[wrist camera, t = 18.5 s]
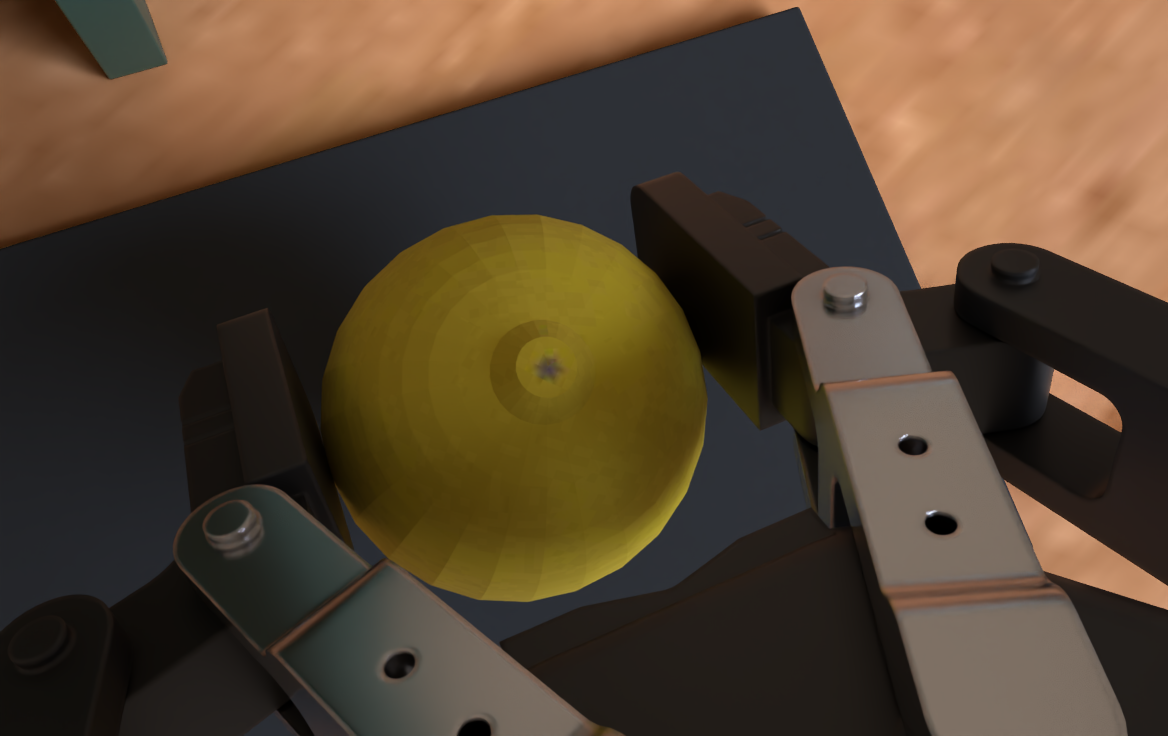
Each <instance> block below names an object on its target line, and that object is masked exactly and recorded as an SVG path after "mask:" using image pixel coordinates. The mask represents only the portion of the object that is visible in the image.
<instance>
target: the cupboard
mask: <svg viewBox="0 0 1168 736" xmlns="http://www.w3.org/2000/svg"><path fill="white" fill-rule="evenodd" d="M55 2H56V3H57V5H58V6H59V7H60V9H61V10H62V12H63V13H64V15H65V16H66V18H67V19H68V20H69V22H70V23H71V25H72V26H73V28H74V29H75V31H76V32H77V33H78V35H79V36H80V38H81V39H82V41H83V42H84V44H85V45H86V46H87V48H88V49H89V51H90V52H91V54H92V55H93V56H94V58H95V59H96V61H97V62H98V64H99V65H100V67H101V68H102V69H103V71H104V72H105V74H106V75H107V77H108V78H109V79H114V78H118V77H122V76H125V75H129V74H132V73H136V72H140V71H143V70H147V69H151V68H154V67H158V66H162V65H165V64H167V59H166V56H165V53H164V50H163V48H162V45H161V42H160V39H159V37H158V34H157V31H156V29H155V26H154V23H153V20H152V18H151V15H150V12H149V9H148V7H147V4H146V1H145V0H55Z"/></svg>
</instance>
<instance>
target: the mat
mask: <svg viewBox="0 0 1168 736" xmlns="http://www.w3.org/2000/svg"><path fill="white" fill-rule="evenodd" d="M674 172H681V173H682V174H684V175H685V176H686V177H687V178H688V179H689V180H691V181H692V182H693V183H694V184H695V185H696V186H698V187H699V188H700V189H701V190H702V191H703V192H705V193H706V194H707V195H709V194H712V193H715V192H717V191H720V192H723V193H726V194H729V195H732V196H735V197H738V198H741V199H744V200H747V201H749V202H750V203H751V204H752V205H754V206H755V207H756V208H757V209H759V210H760V211H761V212H762V213H764V214H765V215H766V216H767V219H768V220H769V219H771V220H772V221H773V222H775V223H776V224H777V225H778V226H780V227H781V228H782V231H783V232H787V233H788V234H789V235H791V236H792V237H793V238H794V239H796V240H797V241H798V242H799V243H801V244H802V245H803V246H804V247H806V248H807V249H808V250H809V251H811V252H812V253H813V254H814V255H815V256H817V257H818V258H819V259H820V260H822V261H823V262H824V263H825V264H827V265H828V266H829V267H830V268H832V267H843V266H846V267H859V268H865V269H869V270H873V271H875V272H878V273H880V274H882V275H884V276H886V277H887V278H889V279H890V280H891V281H892V282H893V283H894V284H895V285H896V286H897V288H898V290H899V291H908V290H916V289H921V287H920V285H919V283H918V280H917V278H916V276H915V274H914V271H913V269H912V267H911V264H910V262H909V260H908V257H907V255H906V253H905V250H904V248H903V246H902V244H901V241H900V239H899V237H898V234H897V232H896V230H895V227H894V225H893V223H892V220H891V218H890V216H889V214H888V211H887V209H886V207H885V204H884V202H883V200H882V197H881V195H880V193H879V191H878V188H877V186H876V184H875V181H874V179H873V177H872V174H871V172H870V170H869V167H868V165H867V163H866V161H865V158H864V156H863V154H862V151H861V149H860V147H859V144H858V142H857V140H856V137H855V135H854V133H853V131H852V128H851V126H850V124H849V121H848V119H847V117H846V114H845V112H844V110H843V108H842V105H841V103H840V101H839V98H838V96H837V94H836V91H835V89H834V87H833V84H832V82H831V80H830V78H829V75H828V73H827V71H826V68H825V66H824V64H823V61H822V59H821V57H820V54H819V52H818V50H817V48H816V45H815V43H814V41H813V38H812V36H811V34H810V31H809V29H808V27H807V25H806V22H805V20H804V18H803V15H802V13H801V11H800V9H799V8H798V7H795V8H791V9H788V10H785V11H781V12H778V13H775V14H772V15H768V16H765V17H762V18H758V19H755V20H752V21H749V22H745V23H742V24H739V25H735V26H732V27H729V28H726V29H722V30H719V31H716V32H712V33H709V34H706V35H702V36H699V37H696V38H693V39H689V40H686V41H683V42H679V43H676V44H673V45H670V46H666V47H663V48H660V49H656V50H653V51H650V52H647V53H643V54H640V55H637V56H633V57H630V58H627V59H624V60H620V61H617V62H614V63H610V64H607V65H604V66H601V67H597V68H594V69H591V70H587V71H584V72H581V73H577V74H574V75H571V76H568V77H564V78H561V79H558V80H554V81H551V82H548V83H545V84H541V85H538V86H535V87H531V88H528V89H525V90H522V91H518V92H515V93H512V94H508V95H505V96H502V97H499V98H495V99H492V100H489V101H485V102H482V103H479V104H475V105H472V106H469V107H466V108H462V109H459V110H456V111H452V112H449V113H446V114H443V115H439V116H436V117H433V118H429V119H426V120H423V121H420V122H416V123H413V124H410V125H406V126H403V127H400V128H397V129H393V130H390V131H387V132H383V133H380V134H377V135H374V136H370V137H367V138H364V139H360V140H357V141H354V142H350V143H347V144H344V145H341V146H337V147H334V148H331V149H327V150H324V151H321V152H318V153H314V154H311V155H308V156H304V157H301V158H298V159H295V160H291V161H288V162H285V163H281V164H278V165H275V166H272V167H268V168H265V169H262V170H258V171H255V172H252V173H249V174H245V175H242V176H239V177H235V178H232V179H229V180H225V181H222V182H219V183H216V184H212V185H209V186H206V187H202V188H199V189H196V190H193V191H189V192H186V193H183V194H179V195H176V196H173V197H170V198H166V199H163V200H160V201H156V202H153V203H150V204H147V205H143V206H140V207H137V208H133V209H130V210H127V211H123V212H120V213H117V214H114V215H110V216H107V217H104V218H100V219H97V220H94V221H91V222H87V223H84V224H81V225H77V226H74V227H71V228H68V229H64V230H61V231H58V232H54V233H51V234H48V235H45V236H41V237H38V238H35V239H31V240H28V241H25V242H22V243H18V244H15V245H12V246H8V247H5V248H2V249H0V632H1V631H2V630H3V629H4V628H5V627H6V626H7V625H8V624H9V623H11V622H12V621H13V620H14V619H16V618H17V617H19V616H20V615H21V614H23V613H24V612H26V611H28V610H30V609H31V608H33V607H35V606H37V605H39V604H41V603H44V602H46V601H48V600H51V599H55V598H58V597H62V596H67V595H77V594H82V595H90V596H93V597H96V598H98V599H100V600H101V601H103V602H104V603H105V604H106V605H107V606H108V607H109V608H110V607H111V606H113V605H114V604H116V603H118V602H119V601H121V600H122V599H124V598H125V597H127V596H128V595H130V594H131V593H133V592H134V591H136V590H138V589H139V588H141V587H142V586H144V585H145V584H147V583H148V582H149V581H151V580H152V579H154V578H155V577H156V576H157V575H159V574H160V573H161V572H162V571H163V570H164V569H166V567H167V566H168V565H169V564H170V563H171V562H172V561H173V560H174V556H173V543H174V538H175V536H176V534H177V531H178V530H179V528H180V526H181V525H182V523H183V522H184V521H185V520H186V518H187V517H188V516H189V515H190V514H191V509H190V500H189V491H188V482H187V472H186V463H185V454H184V446H185V445H184V442H183V435H182V426H183V425H182V423H181V417H180V408H179V399H178V397H179V395H180V393H181V391H182V389H183V387H184V385H185V383H186V381H187V379H188V377H189V375H190V373H191V371H193V370H196V369H199V368H202V367H204V366H207V365H210V364H213V363H216V362H219V361H222V355H221V349H220V344H219V338H218V333H217V325H218V324H221V323H223V322H226V321H229V320H232V319H235V318H238V317H241V316H244V315H247V314H250V313H253V312H256V311H259V310H262V309H265V308H268V309H269V310H270V312H271V314H272V316H273V318H274V320H275V323H276V325H277V327H278V330H279V332H280V334H281V337H282V339H283V341H284V344H285V346H286V348H287V351H288V353H289V355H290V358H291V360H292V362H293V365H294V367H295V369H296V372H297V374H298V376H299V379H300V381H301V383H302V386H303V388H304V390H305V393H306V395H307V398H308V400H309V403H310V405H311V408H312V411H313V413H314V416H315V419H316V422H317V425H318V428H319V431H320V429H321V399H322V379H323V376H324V372H325V369H326V366H327V363H328V359H329V356H330V353H331V349H332V346H333V343H334V340H335V336H336V333H337V331H338V329H339V327H340V326H341V324H342V322H343V321H344V319H345V318H346V316H347V314H348V313H349V311H350V309H351V308H352V306H353V304H354V303H355V301H356V300H357V298H358V296H359V295H360V293H361V291H362V290H363V288H364V287H365V286H366V285H367V284H368V283H369V282H370V281H371V280H372V279H373V278H374V277H375V276H376V275H377V274H378V273H379V272H380V271H382V270H383V269H384V268H385V267H386V266H387V265H388V264H389V263H390V262H391V261H392V260H393V259H394V258H395V257H396V256H397V255H398V254H399V253H401V252H402V251H404V250H406V249H407V248H409V247H411V246H413V245H415V244H416V243H418V242H420V241H422V240H424V239H425V238H427V237H429V236H431V235H433V234H434V233H436V232H438V231H440V230H442V229H443V228H447V227H450V226H454V225H458V224H461V223H465V222H469V221H472V220H476V219H480V218H484V217H487V216H492V215H541V216H546V217H550V218H555V219H559V220H563V221H568V222H572V223H576V224H581V225H583V226H585V227H587V228H589V229H591V230H593V231H595V232H597V233H599V234H601V235H603V236H605V237H607V238H609V239H611V240H613V241H615V242H617V243H619V244H621V245H623V246H624V247H625V248H626V249H628V250H629V251H630V252H631V253H632V254H634V255H635V256H636V257H637V258H638V256H637V248H636V241H635V233H634V225H633V218H632V210H631V202H630V194H631V189H632V187H633V186H635V185H638V184H641V183H644V182H647V181H650V180H653V179H656V178H659V177H662V176H665V175H668V174H671V173H674ZM702 366H703V365H702ZM703 372H704V378H705V384H706V391H707V399H708V400H707V411H706V421H705V432H704V443H703V447H702V450H701V453H700V456H699V459H698V462H697V464H696V467H695V470H694V473H693V476H692V479H691V482H690V484H689V487H688V490H687V493H686V494H685V496H684V497H683V499H682V500H681V502H680V503H679V505H678V506H677V508H676V509H675V511H674V513H673V514H672V516H671V517H670V519H669V520H668V522H667V523H666V525H665V526H664V528H663V529H662V531H661V532H660V533H659V535H658V536H657V537H656V538H654V539H653V540H652V541H651V542H650V543H649V544H648V545H647V546H645V547H644V548H643V549H642V550H641V551H640V552H639V553H638V554H636V555H635V556H634V557H633V558H632V559H631V560H630V561H629V562H627V563H626V564H625V565H624V566H623V567H622V568H620V569H618V570H616V571H614V572H612V573H610V574H608V575H606V576H604V577H602V578H600V579H599V580H597V581H595V582H593V583H591V584H589V585H587V586H585V587H583V588H581V589H579V590H577V591H574V592H570V593H566V594H561V595H557V596H552V597H548V598H543V599H539V600H534V601H530V602H516V601H493V600H477V599H474V598H470V597H467V596H464V595H461V594H458V593H454V592H451V591H448V590H445V589H442V588H438V587H435V586H432V585H430V584H428V583H426V582H425V581H423V580H421V579H420V578H418V577H417V576H415V575H413V574H412V573H410V572H409V571H407V570H406V571H407V572H408V573H409V574H410V575H412V576H413V577H414V578H415V579H417V580H418V581H419V582H420V583H421V584H423V585H424V586H425V587H426V588H428V589H429V590H430V591H431V592H432V593H434V594H435V595H436V596H437V597H439V598H440V599H441V600H442V601H444V602H445V603H446V604H447V605H448V606H450V607H451V608H452V609H453V610H455V611H456V612H457V613H458V614H459V615H461V616H462V617H463V618H464V619H466V620H467V621H468V622H469V623H470V624H472V625H473V626H474V627H475V628H477V629H478V630H479V631H480V632H481V633H483V634H484V635H485V636H486V637H488V638H489V639H490V640H491V641H492V642H494V643H495V644H496V645H497V646H499V647H500V648H501V646H500V643H499V642H500V641H502V640H504V639H507V638H509V637H511V636H514V635H516V634H518V633H521V632H523V631H525V630H528V629H530V628H532V627H534V626H537V625H539V624H541V623H544V622H546V621H548V620H551V619H553V618H555V617H558V616H560V615H562V614H565V613H567V612H569V611H572V610H574V609H576V608H579V607H582V606H587V605H592V604H597V603H602V602H607V601H612V600H617V599H622V598H627V597H632V596H637V595H642V594H647V593H652V592H657V591H662V590H666V589H669V588H671V587H674V586H675V585H677V584H678V583H680V582H681V581H683V580H684V579H685V578H687V577H688V576H689V575H691V574H692V573H693V572H695V571H696V570H697V569H699V568H700V567H701V566H703V565H704V564H705V563H707V562H708V561H709V560H711V559H712V558H713V557H715V556H716V555H717V554H719V553H720V552H721V551H723V550H724V549H725V548H727V547H728V546H729V545H731V544H732V543H733V542H735V541H736V540H737V539H739V538H741V537H743V536H746V535H748V534H750V533H752V532H755V531H757V530H759V529H762V528H764V527H766V526H769V525H771V524H773V523H776V522H778V521H780V520H783V519H785V518H787V517H790V516H792V515H794V514H797V513H799V512H801V511H803V510H806V509H807V508H806V504H805V499H804V495H803V490H802V486H801V481H800V476H799V472H798V467H797V463H796V458H795V454H794V446H793V427H792V426H791V425H790V424H789V422H788V421H787V420H786V421H783V422H781V423H778V424H776V425H773V426H771V427H768V428H766V429H764V430H761V431H760V430H759V429H758V428H757V427H756V426H755V424H754V423H753V422H752V421H751V420H750V419H749V418H748V416H747V415H746V414H745V413H744V412H743V411H742V410H741V408H740V407H739V406H738V405H737V404H736V403H735V402H734V400H733V399H732V398H731V397H730V396H729V395H728V394H727V392H726V391H725V390H724V389H723V388H722V387H721V386H720V384H719V383H718V382H717V381H716V380H715V379H714V378H713V376H712V375H711V374H710V373H709V372H708V371H707V370H706V368H705V367H704V366H703ZM320 434H321V431H320ZM321 437H322V435H321ZM322 441H323V439H322ZM323 444H324V443H323ZM1002 480H1003V483H1004V485H1005V487H1006V489H1007V492H1008V494H1009V496H1010V498H1011V501H1012V503H1013V505H1014V507H1015V509H1016V506H1015V504H1014V502H1013V499H1012V497H1011V495H1010V493H1009V490H1008V488H1007V486H1006V483H1005V481H1004V479H1003V478H1002ZM336 489H337V487H336ZM337 492H338V496H339V499H340V503H341V506H342V509H343V513H344V516H345V520H346V523H347V527H348V530H349V533H350V537H351V540H352V544H353V547H354V551H355V552H356V553H357V554H358V555H359V556H360V557H362V558H363V559H364V560H365V561H366V562H368V563H369V564H370V565H372V566H373V565H375V564H376V563H377V562H378V561H380V560H381V559H383V558H387V557H386V556H385V555H384V553H383V552H382V551H381V550H380V549H379V548H378V547H377V546H376V545H375V544H374V543H373V542H372V541H371V540H370V538H369V537H368V536H367V535H366V534H365V533H364V532H363V531H362V530H361V529H360V528H359V527H358V526H357V524H356V523H355V521H354V520H353V518H352V516H351V514H350V512H349V510H348V508H347V506H346V504H345V503H344V501H343V499H342V497H341V495H340V493H339V491H338V489H337ZM1016 512H1017V514H1018V516H1019V513H1018V511H1017V509H1016ZM1019 518H1020V516H1019ZM1020 521H1021V523H1022V520H1021V518H1020ZM1022 525H1023V523H1022ZM1023 527H1024V525H1023ZM1024 530H1025V532H1026V529H1025V527H1024ZM1026 534H1027V532H1026ZM1027 536H1028V534H1027ZM1028 539H1029V536H1028ZM1029 541H1030V539H1029ZM1030 543H1031V541H1030ZM1031 545H1032V543H1031ZM1032 548H1033V546H1032ZM387 559H388V558H387ZM403 569H404V568H403ZM404 570H405V569H404ZM243 736H293V735H292V734H291V733H290V731H289V730H288V729H287V728H286V727H285V726H284V725H283V724H282V722H281V721H280V720H279V719H278V718H277V717H276V716H275V715H274V713H272V714H271V715H269V716H268V717H267V718H265V719H264V720H263V721H261V722H260V723H259V724H258V725H256V726H255V727H254V728H252V729H251V730H250V731H248V732H247V733H246V734H244V735H243Z"/></svg>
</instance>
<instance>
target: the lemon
mask: <svg viewBox="0 0 1168 736" xmlns="http://www.w3.org/2000/svg"><path fill="white" fill-rule="evenodd" d="M707 400H708V399H707V391H706V384H705V378H704V372H703V366H702V359H701V353H700V350H699V347H698V345H697V342H696V340H695V338H694V335H693V333H692V330H691V328H690V326H689V323H688V321H687V318H686V316H685V314H684V311H683V309H682V308H681V307H680V305H679V304H678V302H677V301H676V300H675V298H674V297H673V296H672V294H671V293H670V292H669V290H668V289H667V287H666V286H665V285H664V283H663V282H662V281H661V279H660V278H659V276H658V275H657V274H656V273H655V272H654V271H653V270H652V269H650V268H649V267H648V266H647V265H646V264H644V263H643V262H642V261H641V260H640V259H638V258H637V257H636V256H635V255H634V254H632V253H631V252H630V251H629V250H628V249H626V248H625V247H624V246H623V245H621V244H619V243H617V242H615V241H613V240H611V239H609V238H607V237H605V236H603V235H601V234H599V233H597V232H595V231H593V230H591V229H589V228H587V227H585V226H583V225H581V224H576V223H572V222H568V221H563V220H559V219H555V218H550V217H546V216H541V215H492V216H487V217H484V218H480V219H476V220H472V221H469V222H465V223H461V224H458V225H454V226H450V227H447V228H443V229H442V230H440V231H438V232H436V233H434V234H433V235H431V236H429V237H427V238H425V239H424V240H422V241H420V242H418V243H416V244H415V245H413V246H411V247H409V248H407V249H406V250H404V251H402V252H401V253H399V254H398V255H397V256H396V257H395V258H394V259H393V260H392V261H391V262H390V263H389V264H388V265H387V266H386V267H385V268H384V269H383V270H382V271H380V272H379V273H378V274H377V275H376V276H375V277H374V278H373V279H372V280H371V281H370V282H369V283H368V284H367V285H366V286H365V287H364V288H363V290H362V291H361V293H360V295H359V296H358V298H357V300H356V301H355V303H354V304H353V306H352V308H351V309H350V311H349V313H348V314H347V316H346V318H345V319H344V321H343V322H342V324H341V326H340V327H339V329H338V331H337V333H336V336H335V340H334V343H333V346H332V349H331V353H330V356H329V359H328V363H327V366H326V369H325V372H324V376H323V379H322V399H321V429H320V431H321V435H322V439H323V443H324V448H325V452H326V456H327V460H328V464H329V468H330V471H331V474H332V477H333V480H334V482H335V485H336V487H337V489H338V491H339V493H340V495H341V497H342V499H343V501H344V503H345V504H346V506H347V508H348V510H349V512H350V514H351V516H352V518H353V520H354V521H355V523H356V524H357V526H358V527H359V528H360V529H361V530H362V531H363V532H364V533H365V534H366V535H367V536H368V537H369V538H370V540H371V541H372V542H373V543H374V544H375V545H376V546H377V547H378V548H379V549H380V550H381V551H382V552H383V553H384V555H385V556H386V557H387V558H388V559H390V560H392V561H393V562H395V563H397V564H398V565H399V566H401V567H402V568H404V569H405V570H407V571H409V572H410V573H412V574H413V575H415V576H417V577H418V578H420V579H421V580H423V581H425V582H426V583H428V584H430V585H432V586H435V587H438V588H442V589H445V590H448V591H451V592H454V593H458V594H461V595H464V596H467V597H470V598H474V599H477V600H493V601H516V602H530V601H534V600H539V599H543V598H548V597H552V596H557V595H561V594H566V593H570V592H574V591H577V590H579V589H581V588H583V587H585V586H587V585H589V584H591V583H593V582H595V581H597V580H599V579H600V578H602V577H604V576H606V575H608V574H610V573H612V572H614V571H616V570H618V569H620V568H622V567H623V566H624V565H625V564H626V563H627V562H629V561H630V560H631V559H632V558H633V557H634V556H635V555H636V554H638V553H639V552H640V551H641V550H642V549H643V548H644V547H645V546H647V545H648V544H649V543H650V542H651V541H652V540H653V539H654V538H656V537H657V536H658V535H659V533H660V532H661V531H662V529H663V528H664V526H665V525H666V523H667V522H668V520H669V519H670V517H671V516H672V514H673V513H674V511H675V509H676V508H677V506H678V505H679V503H680V502H681V500H682V499H683V497H684V496H685V494H686V493H687V490H688V487H689V484H690V482H691V479H692V476H693V473H694V470H695V467H696V464H697V462H698V459H699V456H700V453H701V450H702V447H703V443H704V432H705V421H706V411H707Z"/></svg>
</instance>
